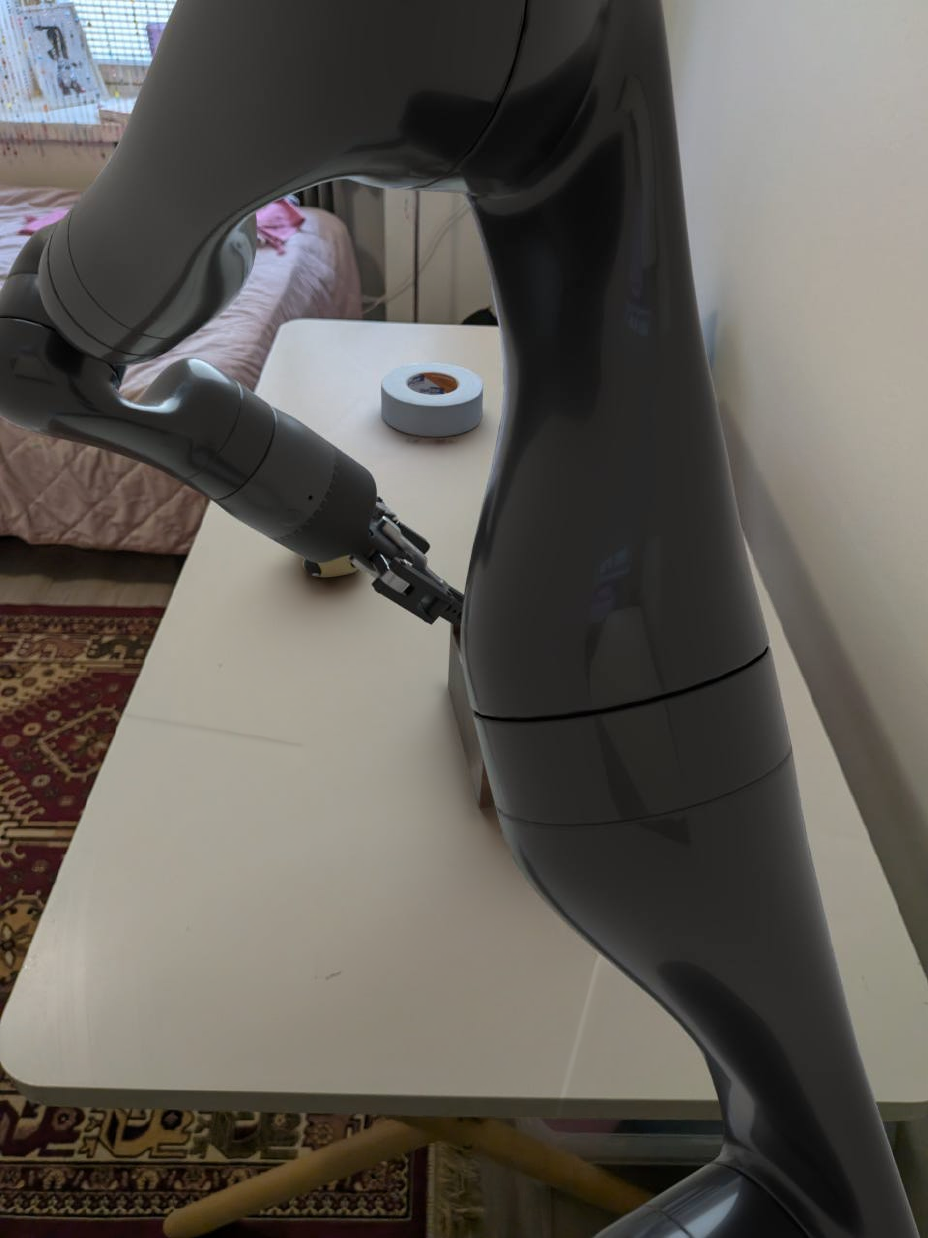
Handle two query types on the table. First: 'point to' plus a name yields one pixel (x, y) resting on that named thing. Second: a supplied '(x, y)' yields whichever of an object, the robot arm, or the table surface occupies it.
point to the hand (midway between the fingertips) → (443, 582)
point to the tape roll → (431, 399)
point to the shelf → (467, 720)
